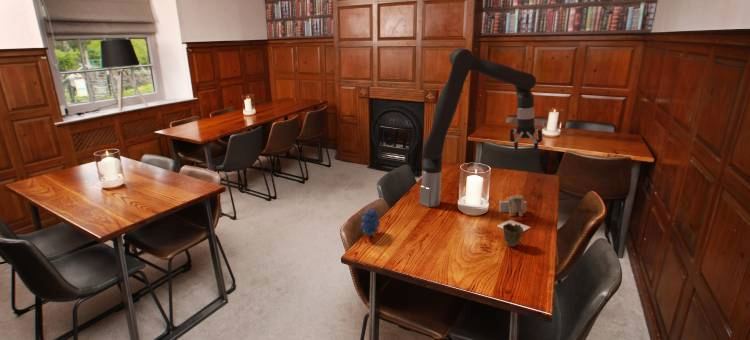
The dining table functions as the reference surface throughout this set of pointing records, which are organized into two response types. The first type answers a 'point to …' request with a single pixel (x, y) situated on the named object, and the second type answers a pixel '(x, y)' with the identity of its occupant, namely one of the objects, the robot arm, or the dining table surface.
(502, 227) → the mat
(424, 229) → the dining table surface
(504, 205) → the block
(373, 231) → the grapes
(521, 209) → the stool
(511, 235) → the cup
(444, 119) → the robot arm
